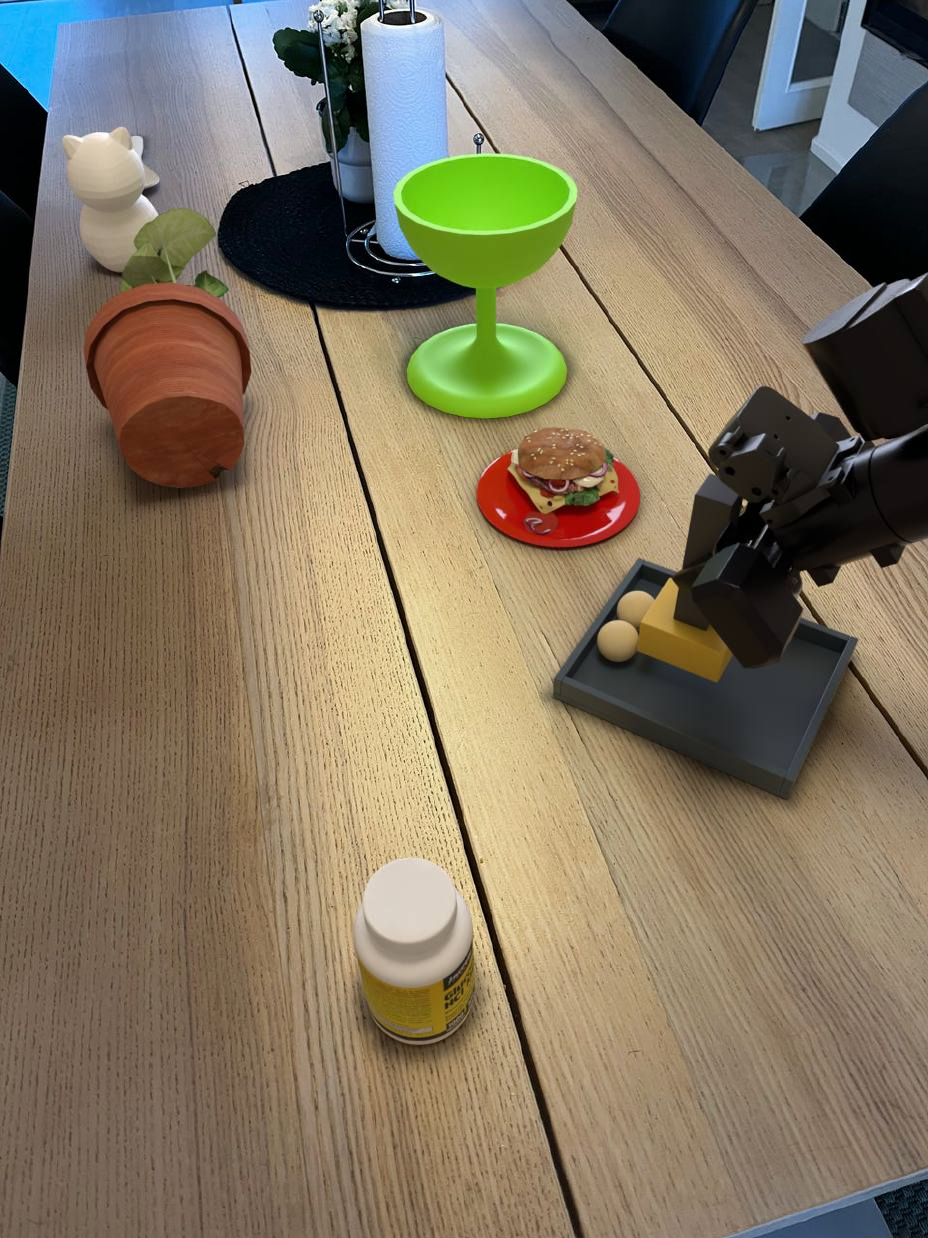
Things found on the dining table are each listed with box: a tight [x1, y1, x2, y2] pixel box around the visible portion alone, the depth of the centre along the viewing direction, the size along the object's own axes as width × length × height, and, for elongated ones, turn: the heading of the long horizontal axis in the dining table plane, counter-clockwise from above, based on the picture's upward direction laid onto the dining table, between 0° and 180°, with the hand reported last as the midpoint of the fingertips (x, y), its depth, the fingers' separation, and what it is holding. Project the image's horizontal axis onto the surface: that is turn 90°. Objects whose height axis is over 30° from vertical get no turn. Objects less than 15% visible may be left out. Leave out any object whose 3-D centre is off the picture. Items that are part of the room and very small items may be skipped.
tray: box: [552, 557, 859, 800], centre depth 73 cm, size 17×14×2 cm
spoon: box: [130, 135, 160, 190], centre depth 136 cm, size 4×21×2 cm, turn 17°
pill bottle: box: [352, 857, 476, 1046], centre depth 54 cm, size 6×6×11 cm
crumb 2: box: [597, 620, 639, 662], centre depth 74 cm, size 3×3×3 cm
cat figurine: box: [61, 126, 159, 273], centre depth 114 cm, size 9×12×15 cm
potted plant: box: [83, 207, 252, 489], centre depth 95 cm, size 16×15×35 cm
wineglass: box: [392, 152, 579, 420], centre depth 95 cm, size 16×16×18 cm
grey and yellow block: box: [637, 473, 744, 683], centre depth 67 cm, size 6×5×14 cm
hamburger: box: [476, 426, 641, 548], centre depth 86 cm, size 14×14×6 cm
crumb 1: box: [617, 591, 655, 631], centre depth 76 cm, size 3×3×3 cm
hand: (684, 569), depth 68 cm, fingers closed on grey and yellow block, 2 cm apart
